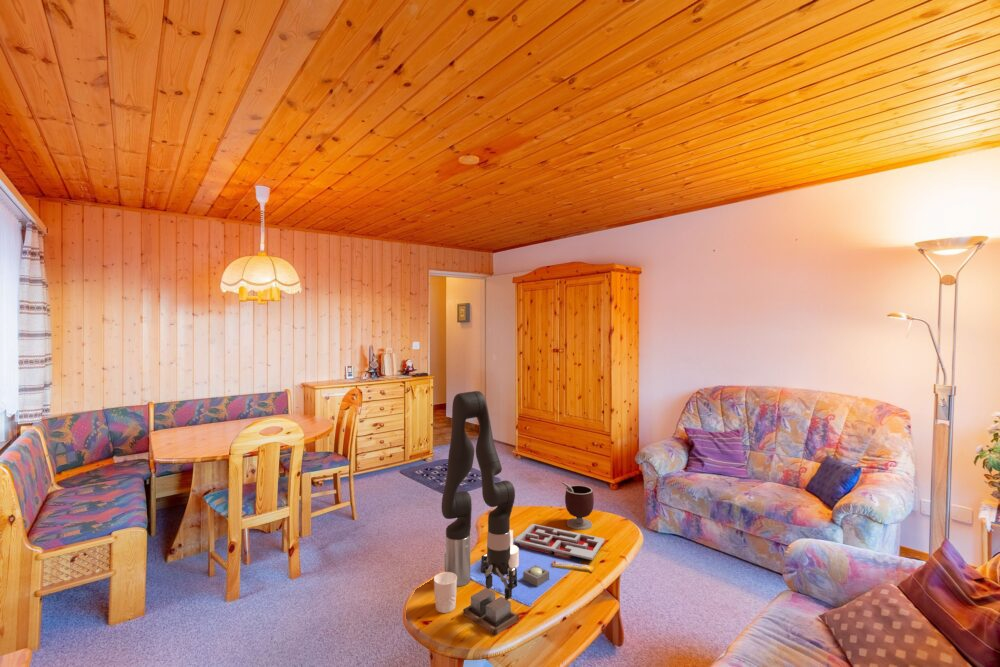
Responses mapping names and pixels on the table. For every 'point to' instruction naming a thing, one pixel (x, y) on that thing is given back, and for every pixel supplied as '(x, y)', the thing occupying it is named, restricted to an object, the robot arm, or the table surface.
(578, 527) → the mate gourd
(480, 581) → the table surface
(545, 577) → the button housing
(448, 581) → the white cup
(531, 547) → the maze game
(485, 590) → the seated billet
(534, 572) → the button
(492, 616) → the block
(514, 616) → the frame
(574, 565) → the candy bar
